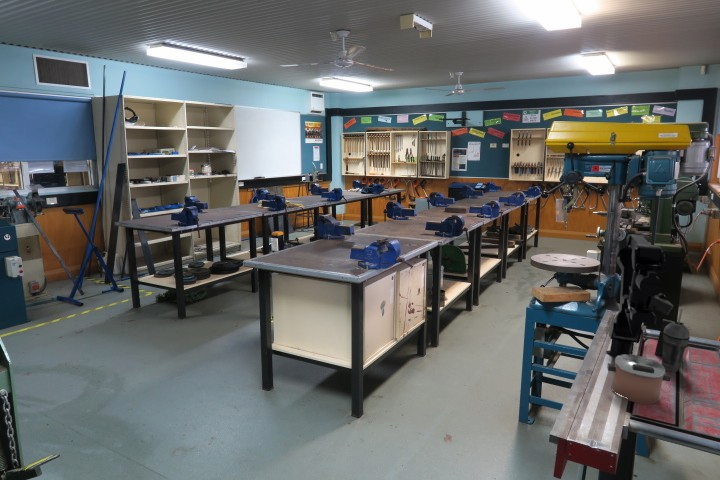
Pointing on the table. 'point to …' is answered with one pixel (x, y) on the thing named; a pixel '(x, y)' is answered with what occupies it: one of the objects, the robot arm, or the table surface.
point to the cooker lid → (640, 366)
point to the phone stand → (660, 340)
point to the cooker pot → (636, 386)
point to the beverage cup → (674, 344)
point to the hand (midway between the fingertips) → (633, 334)
